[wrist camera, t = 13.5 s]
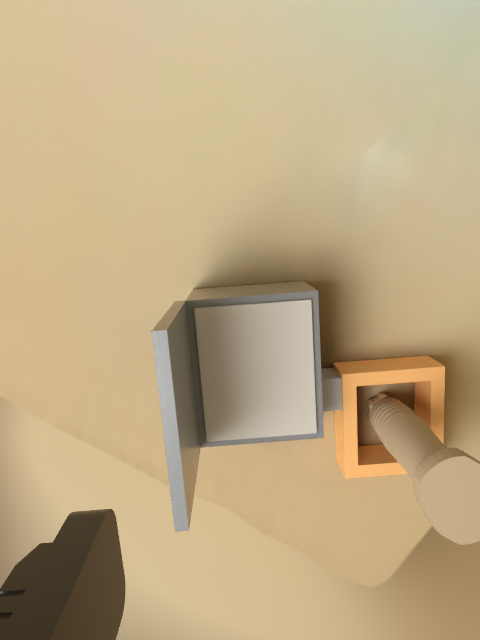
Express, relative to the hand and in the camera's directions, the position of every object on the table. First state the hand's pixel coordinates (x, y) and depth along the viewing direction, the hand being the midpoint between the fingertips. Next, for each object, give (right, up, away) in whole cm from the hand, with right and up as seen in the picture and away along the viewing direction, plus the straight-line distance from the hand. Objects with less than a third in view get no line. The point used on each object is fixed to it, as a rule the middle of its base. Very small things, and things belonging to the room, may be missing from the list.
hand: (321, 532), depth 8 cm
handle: (+12, -4, +34) cm, 36 cm away
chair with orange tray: (+5, -1, +33) cm, 33 cm away
